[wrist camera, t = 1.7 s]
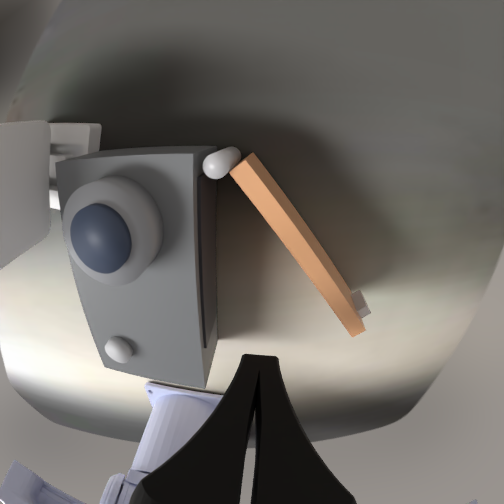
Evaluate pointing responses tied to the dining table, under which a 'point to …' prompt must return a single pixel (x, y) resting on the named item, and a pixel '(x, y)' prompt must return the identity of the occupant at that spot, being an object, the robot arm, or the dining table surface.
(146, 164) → the housing
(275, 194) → the hatch
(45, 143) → the security camera
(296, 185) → the dining table surface
